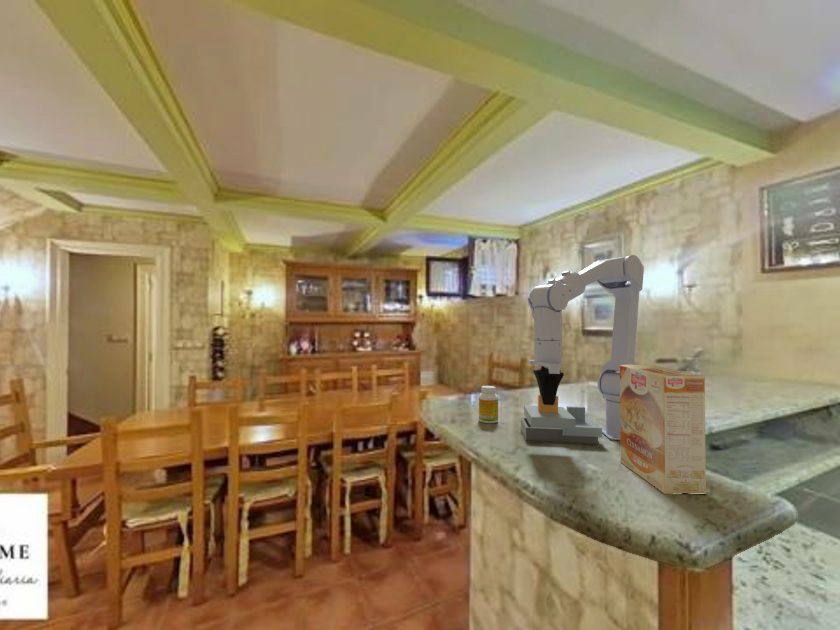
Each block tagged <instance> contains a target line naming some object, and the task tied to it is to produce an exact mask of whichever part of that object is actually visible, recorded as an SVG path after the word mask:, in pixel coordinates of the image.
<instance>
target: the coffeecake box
mask: <svg viewBox="0 0 840 630" xmlns="http://www.w3.org/2000/svg"><path fill="white" fill-rule="evenodd" d="M619 373H620V440H619V442H620V463H621V464H622V465H624V466H625V467H627V468H628V469H629V470H631V471H633V472H634V473H635V474H636V475H638V476H639V477H641V478H642V479H643V480H645V481H646V482H647V483H649V484H650V485H651V486H653V487H654V486H655V487H654V488H656V489H657V488H658V489H657V490H659V491H660V492H661V493H663V494H664V495H674V494H673V493H705V492H706V493H707V483H706V482H707V481H706V479H707V478H706V477H707V476H706V475H707V474H706V472H707V470H706V468H707V464H706V457H707V456H706V399H705V398H706V392H705V390H706V389H705V386H706V385H705V383H706V382H705V379H706V378H705V377H706V375H704V374H698V373H693V372H689V371H688V372H687V371H682V370H678V369H672V368H667V367H662V366H657V365H653V364H651V365H649V364H647V365H645V364H643V365H641V364H638V365H620V371H619ZM670 493H672V494H670Z"/></svg>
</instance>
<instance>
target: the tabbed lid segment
mask: <svg viewBox="0 0 840 630" xmlns="http://www.w3.org/2000/svg"><path fill="white" fill-rule="evenodd" d="M523 415H524V416H525V417H524V418H526V419H527V420H528V422H529V424H530V426H531V427H541V428H563V429H576V419H575V418H574V417H573V416H572V415H571V414H570V413H569V412H568V411H567V408H566V409H565V407H564V406H559V396H558V395H556V399H555V403H554V405H544V404H543V401H542V395H540V394H538V395H537V405H523Z"/></svg>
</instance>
